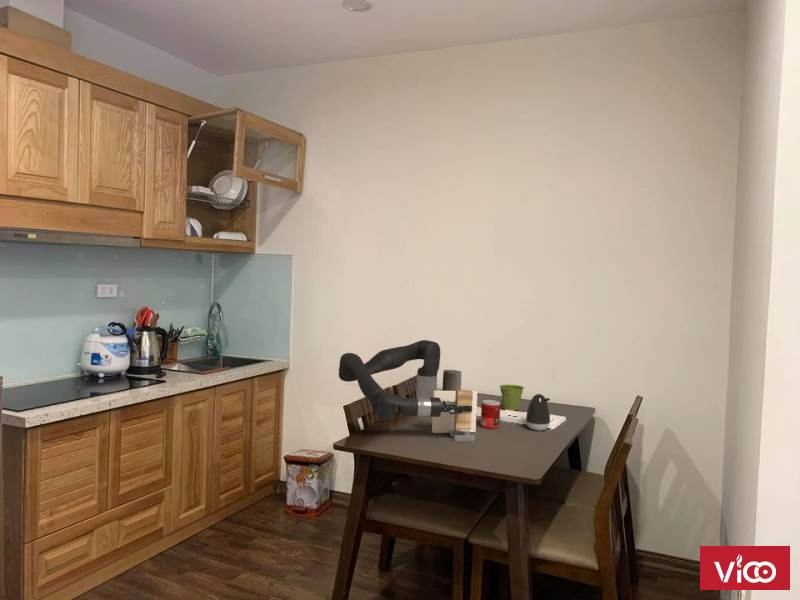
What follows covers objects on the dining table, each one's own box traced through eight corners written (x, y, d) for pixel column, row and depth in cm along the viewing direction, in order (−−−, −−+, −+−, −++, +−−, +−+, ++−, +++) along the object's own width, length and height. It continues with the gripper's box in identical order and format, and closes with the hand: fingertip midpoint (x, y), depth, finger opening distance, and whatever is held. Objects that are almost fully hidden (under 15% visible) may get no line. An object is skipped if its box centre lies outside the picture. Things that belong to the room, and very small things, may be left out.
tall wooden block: (453, 427, 244) (455, 390, 244) (468, 427, 246) (470, 390, 245) (455, 429, 241) (458, 391, 240) (470, 429, 242) (472, 392, 241)
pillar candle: (439, 397, 320) (441, 369, 319) (444, 394, 329) (446, 366, 328) (458, 400, 317) (459, 371, 316) (462, 396, 326) (463, 368, 325)
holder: (458, 414, 287) (458, 408, 287) (475, 407, 302) (475, 402, 302) (553, 430, 263) (553, 424, 263) (565, 422, 279) (566, 417, 279)
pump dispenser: (540, 433, 255) (542, 397, 255) (520, 428, 263) (522, 393, 263) (555, 430, 262) (556, 395, 261) (535, 425, 270) (536, 390, 269)
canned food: (497, 430, 258) (498, 404, 258) (478, 428, 261) (480, 402, 260) (500, 426, 266) (502, 401, 265) (482, 424, 268) (483, 399, 268)
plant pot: (496, 406, 305) (498, 384, 304) (521, 407, 304) (522, 385, 304) (499, 412, 293) (500, 388, 292) (524, 413, 292) (526, 389, 292)
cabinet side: (431, 431, 252) (433, 390, 251) (474, 431, 255) (476, 390, 254) (439, 441, 238) (441, 397, 237) (484, 441, 241) (486, 398, 241)
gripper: (432, 401, 233) (476, 401, 236) (424, 393, 247) (466, 394, 250) (431, 420, 234) (475, 421, 237) (423, 412, 248) (465, 412, 251)
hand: (470, 407), depth 243 cm, fingers closed on tall wooden block, 3 cm apart
